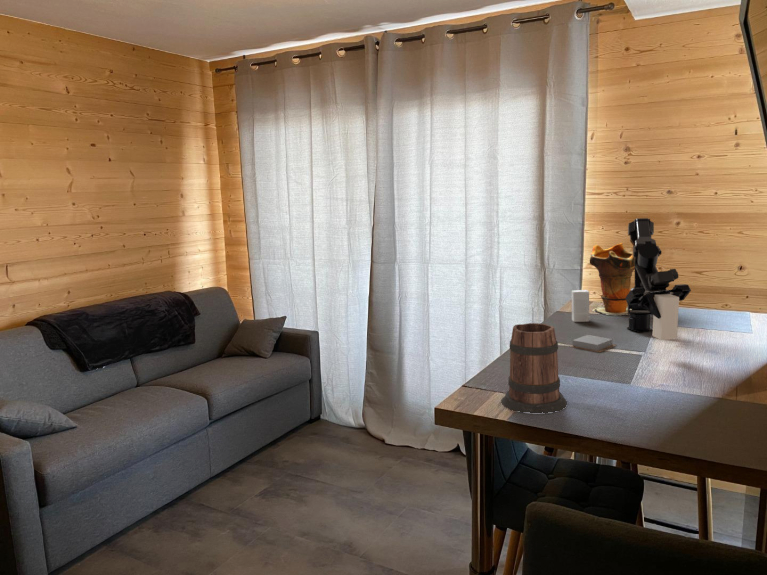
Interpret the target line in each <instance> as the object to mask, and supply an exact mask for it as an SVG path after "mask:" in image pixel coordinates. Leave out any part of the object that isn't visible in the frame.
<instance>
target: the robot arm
mask: <svg viewBox="0 0 767 575" xmlns="http://www.w3.org/2000/svg"><path fill="white" fill-rule="evenodd" d="M654 234H655V224H654V222H653V221H652V220H651V218H648V217H644V218H643V217H641V218H637V217H636V218H635V219H634V220H633V221H631V222H629V223H628V225H627V235H628V236H629V241H630V243H631V245H632V252H633V257H635V270H634V286H633V287H632V288H630V292H629V293H628V295H627V296H626V301H627V304H628V306H627V311H628V314H627V315H629V318H628V326H627V327H626V329H627V328H628V329H627V330H629V329H631V330H630V331H632V330H634V331H633V332H635V331H637V332H636V333H642V332H641V331H645V332H650V331H649V330H652V331H653V328H651V315H652V316H653V315H654V316H656V317H657V318H658V319H660V318H661V315H660V312H659V310H658V308H657V306H656V303H655V301H654V295H662V294H671V295H674V296H677V297H679V302H682V301H684V300H685V299H686V298H687V296H688V295H689V294H690V293H691V291H692V289H691V287H690V286H689V284H688V283H687V284H686V283H683V284H682V283H681V284H675V285H674V286H673V287H672V289H667V288H669V287H670V283H672V282H675V280H677V279H678V278H679V277H680V276H679V272H678V270H677V269H676V268H670V269H669V270H665V271H664V270H663V271H662V270H661V271H658V268H657V263H658V258H659V257H660V256H661V255H662V249H661V248H660V247H659V245H657V243H656V242H657V241H656V239H653V238H652V236H653V235H654ZM630 309H632V310H630Z"/></svg>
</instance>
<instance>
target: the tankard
mask: <svg viewBox="0 0 767 575" xmlns="http://www.w3.org/2000/svg"><path fill="white" fill-rule="evenodd" d="M510 338H511V339H510V341H509V350H510V352H509V353H510V354H509V355H510V356H509V357H510V358H509V375H508V384H507V385H508V386H509V387H508V388H509V390H507V391H506V392H505V394H504V396H503V397H502V398H501V401H500V403H502V404H501V405H502V406H503V407H504V408H505V407H506V409H507V408H508V409H507V410H509V409H510V410H509V411H512V410H513V411H512V412H514V411H520V412H530V413H542V412H543V413H548V412H555V411H559V412H561V411H560V410H562V409H563V408H565V407H566V405H567V402H568V400H567V399H566V398H565V396H564V395H563V394H562V393H561V391H560V388H561V387H560V386H561V378H560V377H559V363H558V362H559V361H558V360H559V359H558V350H559V342H558V341H557V337H556V331H555V327H554V326H552V325H550V324H549V325H548V324H546V323H538V322H531V323H523V324H520V323H519V324H515V325H513V327H512V332H511V337H510ZM566 400H567V401H566ZM566 408H567V407H566ZM566 408H565V409H566ZM562 411H563V410H562Z"/></svg>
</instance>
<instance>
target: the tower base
mask: <svg viewBox="0 0 767 575" xmlns="http://www.w3.org/2000/svg"><path fill="white" fill-rule="evenodd" d="M616 346H617V344H616V343H612V345H611V346H609V347H606V348H604V349H601V350H599V351H595V350H590V349H585V348H580V347H575V346H573V344H571V345H569V347H570V348H574V349H580V350H585V351H589V352H595V353H602V352H604V351H607V350H609V349H611V348H613V347H616Z"/></svg>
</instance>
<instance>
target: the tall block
mask: <svg viewBox="0 0 767 575" xmlns="http://www.w3.org/2000/svg"><path fill="white" fill-rule="evenodd" d="M654 301H655V303H656V306H657V308H658V310H659V312H660V315H661V318H660V319H658V318H657V317H656V316H654V315H652V316H653V318H652V329H653V330H652V337H654V338H656V339H658V340H661V341H666V340H669V341H670V340H678V326H679V310H680V309H679V308H680V305H679V304H680V301H679V297H677V296H674V295H671V294H662V295H654Z"/></svg>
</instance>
